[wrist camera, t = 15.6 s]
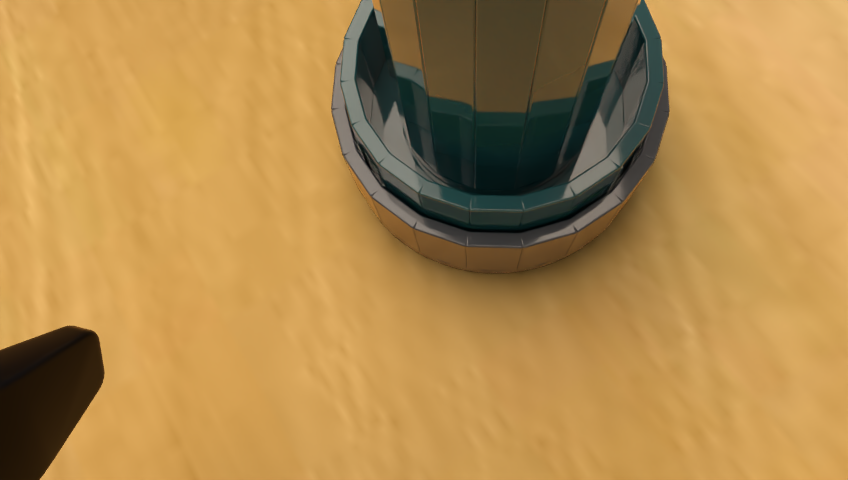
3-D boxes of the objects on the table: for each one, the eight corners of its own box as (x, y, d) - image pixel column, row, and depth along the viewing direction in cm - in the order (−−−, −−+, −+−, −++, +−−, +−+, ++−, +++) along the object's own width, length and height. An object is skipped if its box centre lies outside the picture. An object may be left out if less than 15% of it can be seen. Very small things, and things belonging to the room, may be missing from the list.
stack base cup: (592, 317, 22) (613, 297, 19) (306, 217, 24) (279, 183, 20) (675, 52, 25) (706, -6, 21) (411, -21, 26) (402, -84, 23)
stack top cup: (580, 294, 22) (610, 257, 17) (327, 207, 24) (290, 151, 19) (655, 60, 25) (699, -29, 20) (420, -5, 26) (407, -103, 21)
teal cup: (493, 235, 21) (511, 55, 11) (363, 106, 23) (276, -153, 13) (632, 108, 22) (767, -165, 12) (497, -7, 24) (516, -332, 13)
